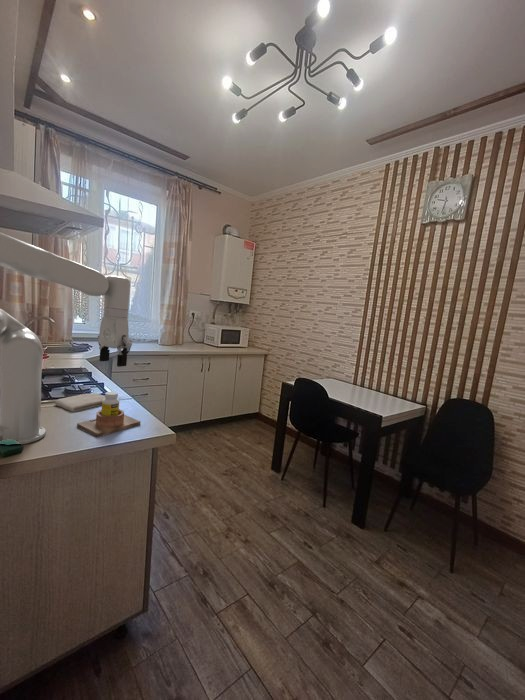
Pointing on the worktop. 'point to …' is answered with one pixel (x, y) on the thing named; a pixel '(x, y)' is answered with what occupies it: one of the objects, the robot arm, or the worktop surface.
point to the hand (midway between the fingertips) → (112, 363)
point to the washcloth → (80, 402)
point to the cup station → (108, 424)
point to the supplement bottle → (110, 404)
